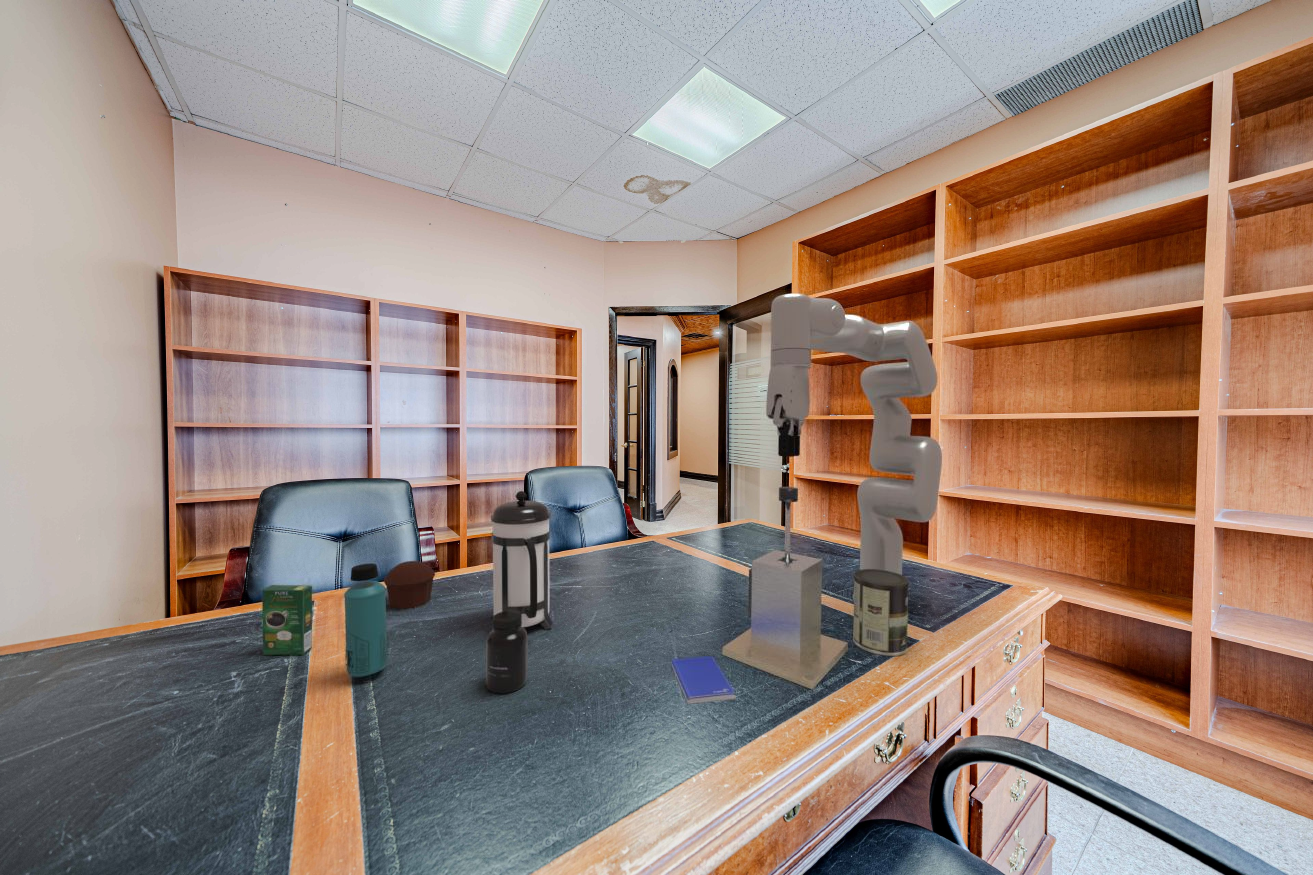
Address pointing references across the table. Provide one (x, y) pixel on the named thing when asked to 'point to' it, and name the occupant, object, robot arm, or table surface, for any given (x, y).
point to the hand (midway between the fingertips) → (789, 455)
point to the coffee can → (880, 612)
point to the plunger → (788, 514)
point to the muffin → (409, 584)
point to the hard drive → (702, 680)
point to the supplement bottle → (506, 653)
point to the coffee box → (287, 619)
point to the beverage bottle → (365, 623)
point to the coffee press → (521, 560)
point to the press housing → (786, 621)
